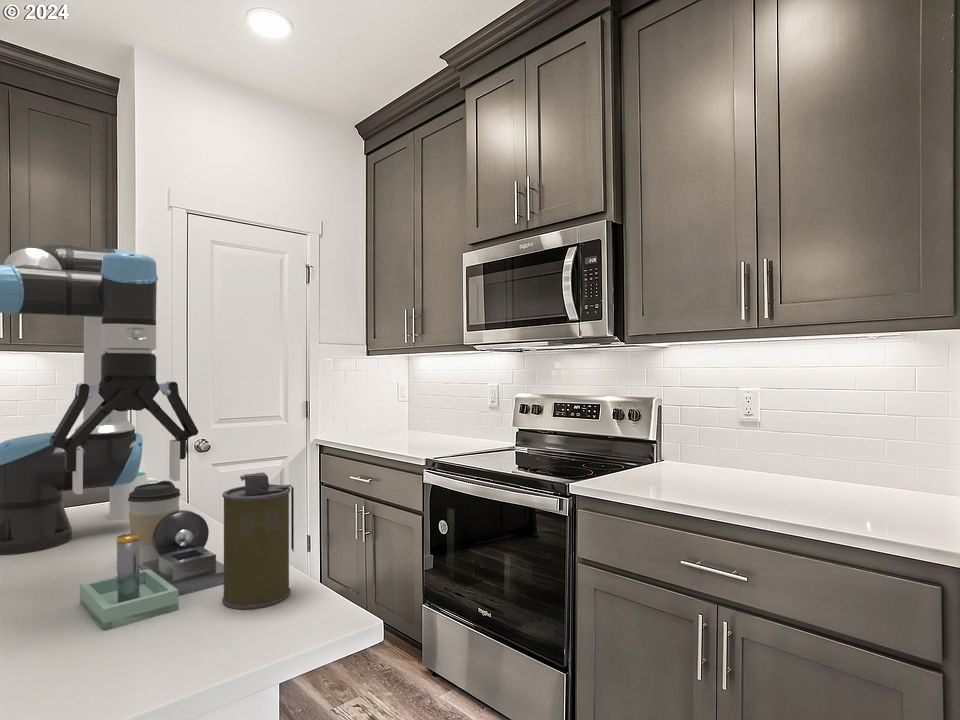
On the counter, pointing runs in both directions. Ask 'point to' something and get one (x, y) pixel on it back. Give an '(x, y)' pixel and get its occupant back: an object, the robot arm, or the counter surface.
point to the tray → (111, 614)
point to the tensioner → (184, 553)
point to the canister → (257, 543)
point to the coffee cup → (151, 513)
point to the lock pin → (128, 567)
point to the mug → (125, 496)
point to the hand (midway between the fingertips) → (128, 486)
